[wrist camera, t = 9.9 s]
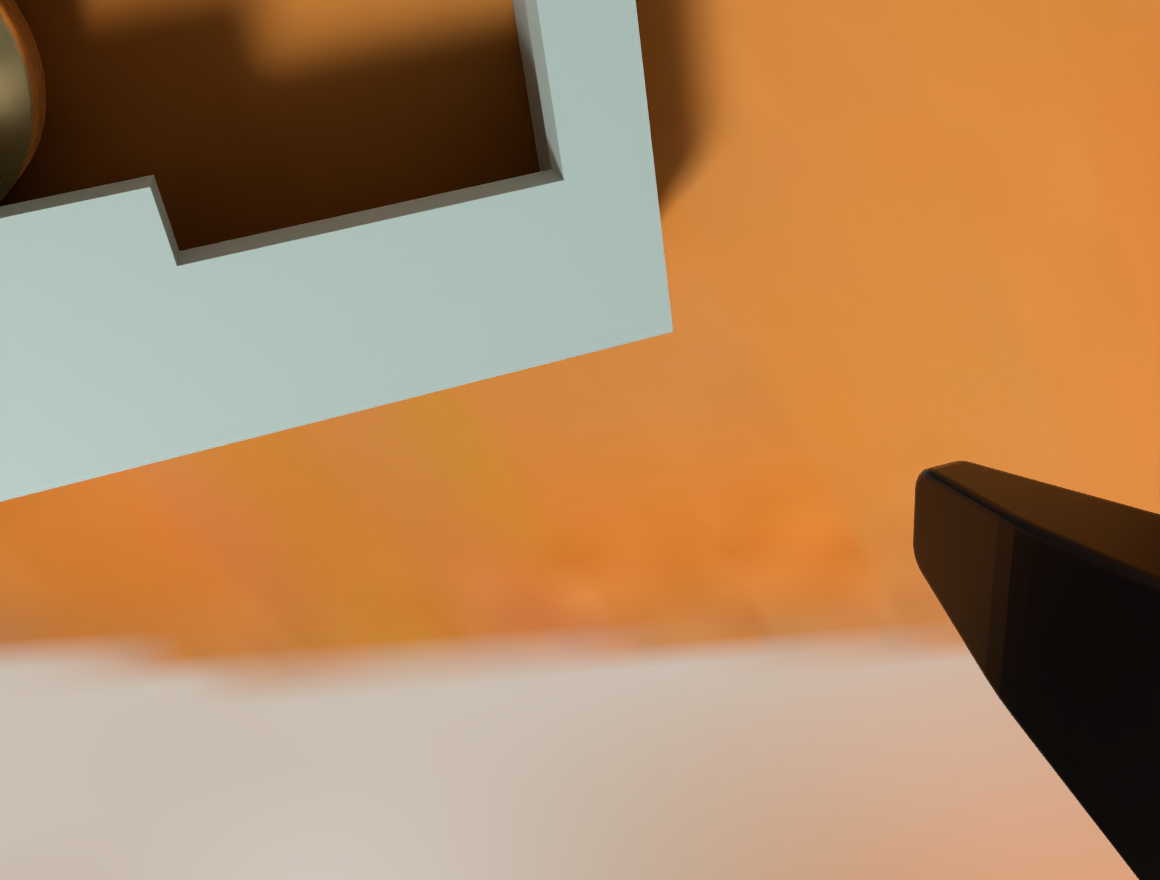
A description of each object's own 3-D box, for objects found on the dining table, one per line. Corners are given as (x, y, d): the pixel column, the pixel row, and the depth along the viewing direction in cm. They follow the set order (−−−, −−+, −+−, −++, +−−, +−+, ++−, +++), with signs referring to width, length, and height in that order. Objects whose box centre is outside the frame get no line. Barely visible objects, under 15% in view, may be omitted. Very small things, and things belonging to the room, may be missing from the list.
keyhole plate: (512, -498, 16) (570, -581, 13) (617, 276, 22) (673, 331, 19) (-771, -358, 13) (-1039, -427, 10) (-258, 487, 19) (-344, 588, 16)
